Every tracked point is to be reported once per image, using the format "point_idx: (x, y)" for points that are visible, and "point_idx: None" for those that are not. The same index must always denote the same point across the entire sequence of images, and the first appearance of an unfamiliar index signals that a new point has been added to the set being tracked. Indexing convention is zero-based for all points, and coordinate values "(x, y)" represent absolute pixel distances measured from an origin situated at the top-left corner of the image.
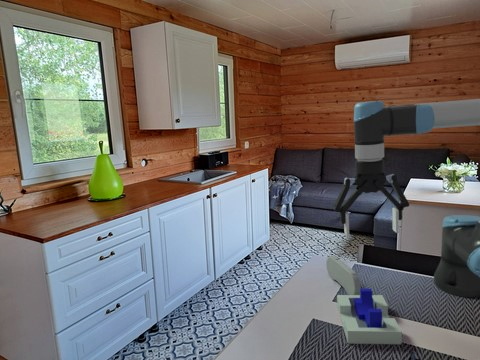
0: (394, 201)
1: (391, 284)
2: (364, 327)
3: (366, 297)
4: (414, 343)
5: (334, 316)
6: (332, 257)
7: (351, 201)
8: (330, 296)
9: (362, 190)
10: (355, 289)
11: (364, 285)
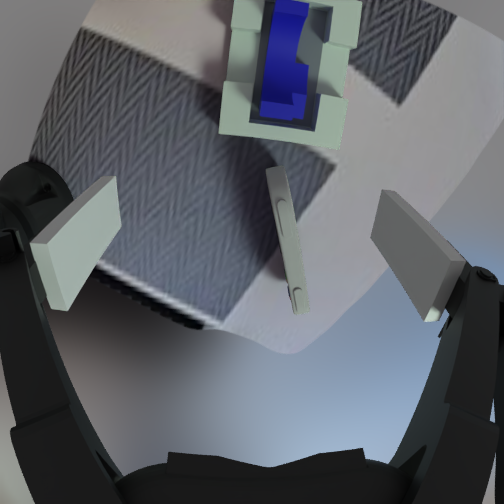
0: (13, 299)
1: (165, 224)
2: (304, 34)
3: (278, 98)
4: None
5: (352, 101)
6: (305, 301)
7: (482, 338)
8: (333, 186)
9: (449, 469)
10: (282, 166)
11: (231, 226)
